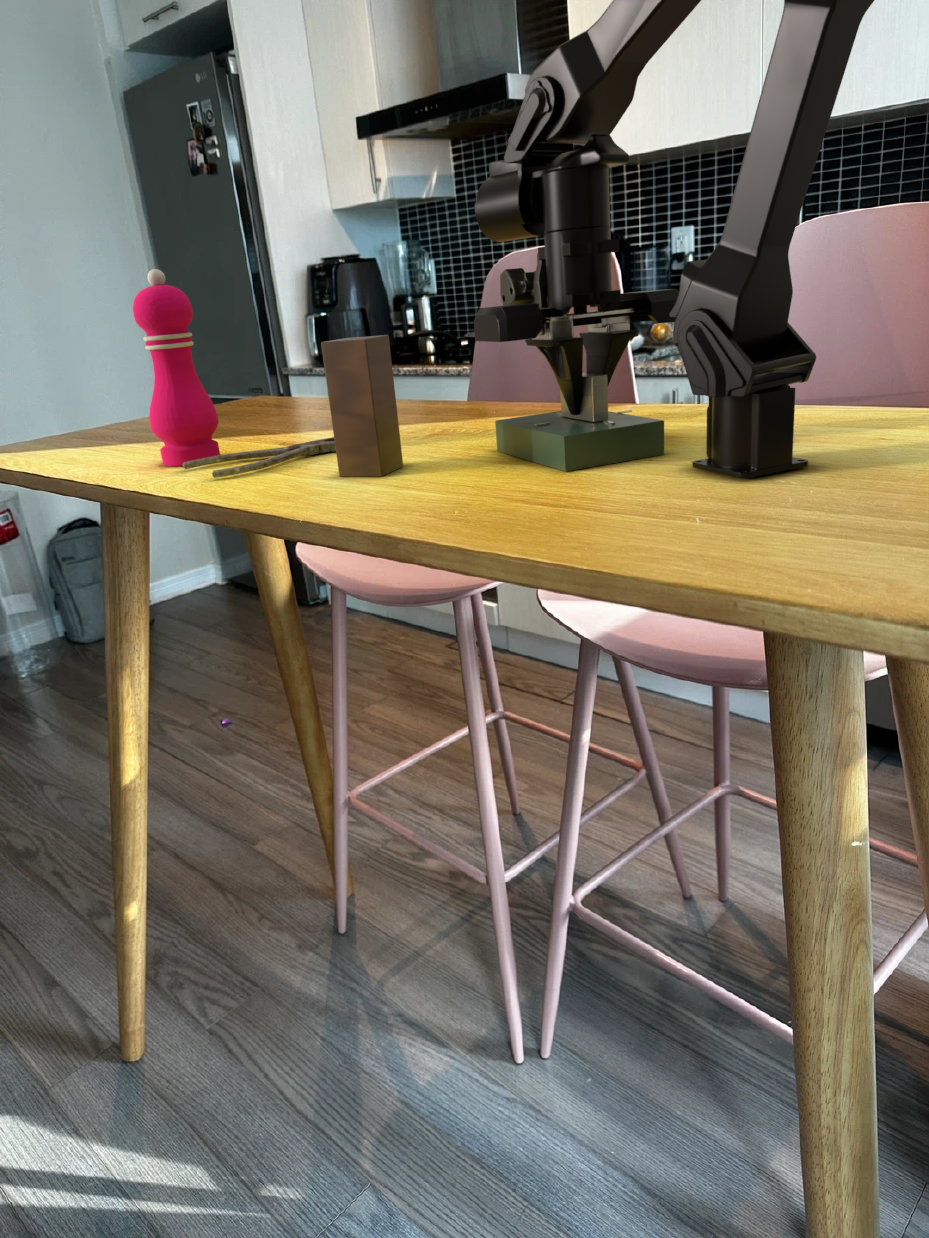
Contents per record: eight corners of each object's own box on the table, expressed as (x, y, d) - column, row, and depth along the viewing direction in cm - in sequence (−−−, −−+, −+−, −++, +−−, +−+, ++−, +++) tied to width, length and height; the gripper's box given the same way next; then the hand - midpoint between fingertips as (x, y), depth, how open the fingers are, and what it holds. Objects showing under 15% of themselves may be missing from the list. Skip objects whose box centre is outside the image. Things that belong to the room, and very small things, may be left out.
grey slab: (608, 420, 80) (607, 372, 78) (593, 422, 79) (591, 374, 78) (575, 414, 85) (573, 369, 84) (561, 416, 85) (558, 371, 83)
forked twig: (167, 465, 91) (318, 431, 105) (168, 473, 91) (319, 438, 105) (219, 471, 85) (372, 434, 98) (221, 480, 85) (373, 442, 99)
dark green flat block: (675, 452, 79) (674, 416, 78) (565, 471, 75) (563, 434, 74) (594, 435, 91) (593, 404, 90) (497, 451, 87) (494, 419, 86)
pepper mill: (189, 468, 94) (149, 267, 87) (144, 466, 98) (103, 273, 91) (238, 455, 99) (205, 265, 93) (194, 454, 103) (159, 271, 96)
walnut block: (403, 466, 84) (388, 334, 80) (382, 476, 80) (365, 339, 76) (362, 466, 86) (345, 338, 82) (339, 477, 82) (320, 342, 78)
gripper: (618, 232, 87) (622, 394, 92) (443, 245, 80) (458, 419, 86) (688, 220, 77) (687, 402, 82) (494, 234, 71) (508, 431, 76)
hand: (584, 413), depth 82 cm, fingers closed on grey slab, 2 cm apart
